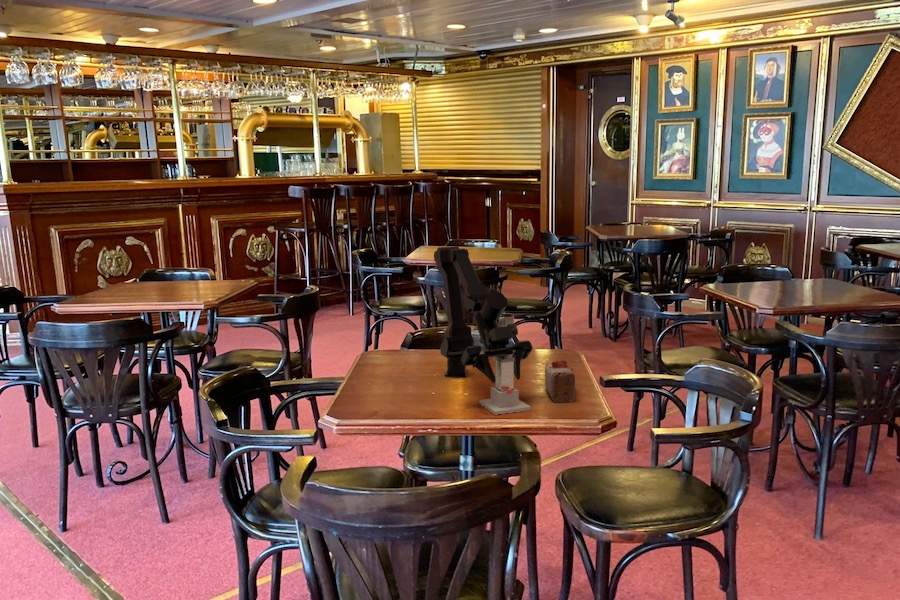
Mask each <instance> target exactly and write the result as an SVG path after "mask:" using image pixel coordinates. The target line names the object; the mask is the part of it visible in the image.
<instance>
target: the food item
mask: <svg viewBox="0 0 900 600" xmlns="http://www.w3.org/2000/svg"><path fill="white" fill-rule="evenodd" d="M569 362H570V361H568V362H567V361H566V360H559V361H558V360H553V361H547V362H546V363H545V367H544V384H545V389H546V391H547V393H548V394H549V396H550V398H551V400H552V401H553V402H555V403H573V402H574V401H575V398H576V375H575V374H574V371H573V370H574V367H573V366H569V365H568V364H569Z"/></svg>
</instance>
